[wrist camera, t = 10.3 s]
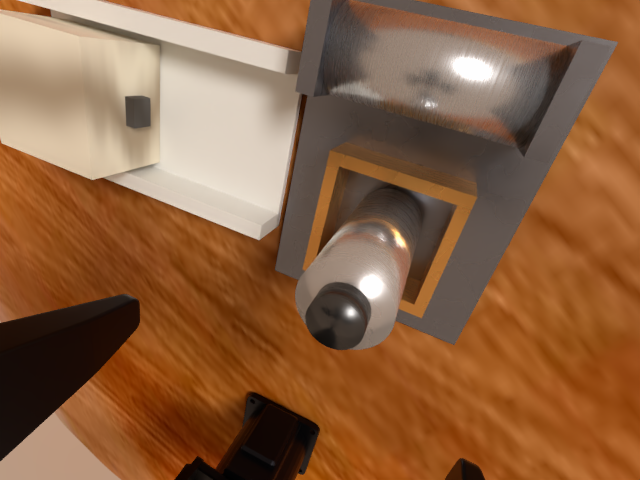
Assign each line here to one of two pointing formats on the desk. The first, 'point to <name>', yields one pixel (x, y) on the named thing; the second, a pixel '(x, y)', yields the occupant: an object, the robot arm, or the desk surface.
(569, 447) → the desk surface
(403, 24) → the grey metal holder
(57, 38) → the pale wooden block
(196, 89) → the bay
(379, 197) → the capped metal canister
